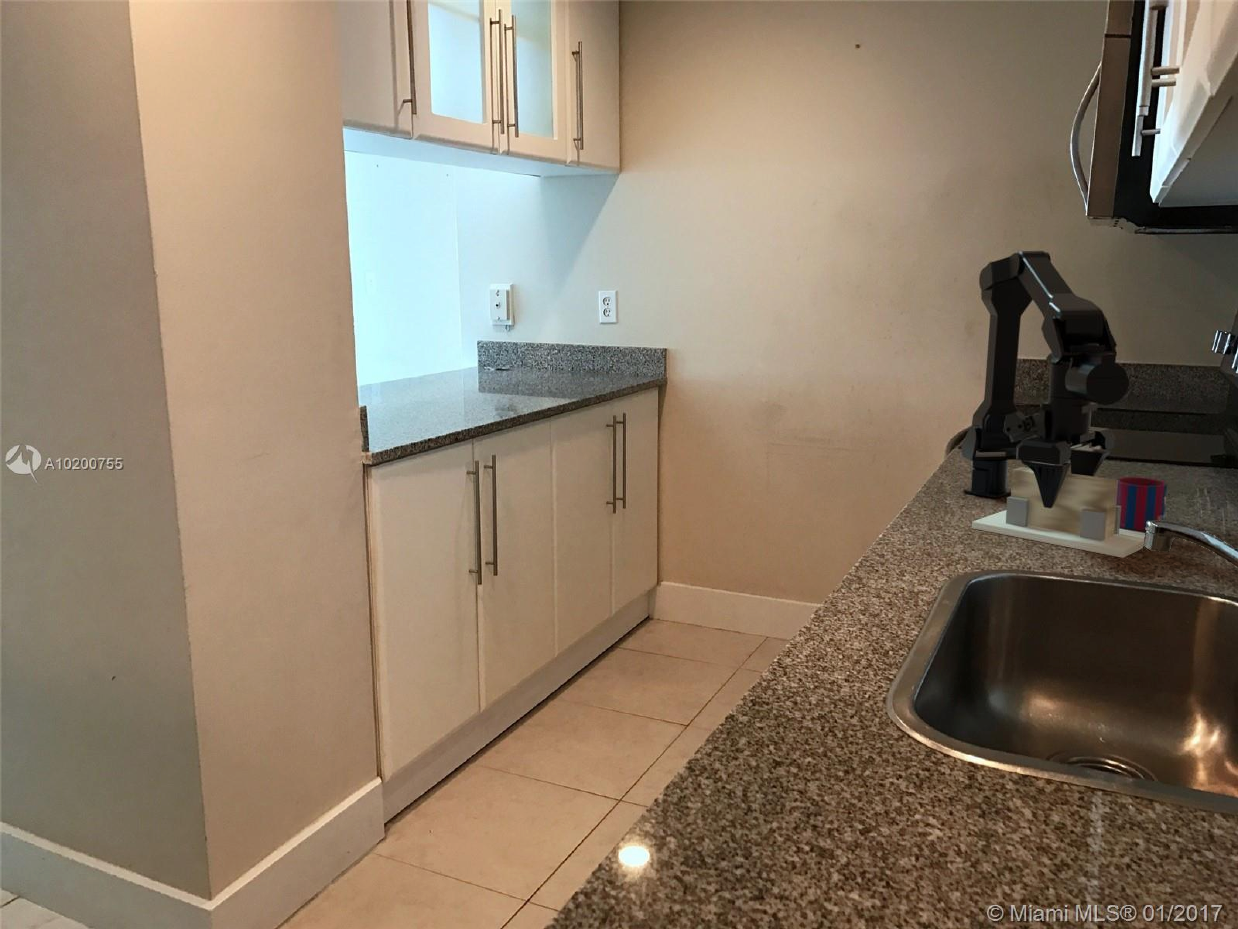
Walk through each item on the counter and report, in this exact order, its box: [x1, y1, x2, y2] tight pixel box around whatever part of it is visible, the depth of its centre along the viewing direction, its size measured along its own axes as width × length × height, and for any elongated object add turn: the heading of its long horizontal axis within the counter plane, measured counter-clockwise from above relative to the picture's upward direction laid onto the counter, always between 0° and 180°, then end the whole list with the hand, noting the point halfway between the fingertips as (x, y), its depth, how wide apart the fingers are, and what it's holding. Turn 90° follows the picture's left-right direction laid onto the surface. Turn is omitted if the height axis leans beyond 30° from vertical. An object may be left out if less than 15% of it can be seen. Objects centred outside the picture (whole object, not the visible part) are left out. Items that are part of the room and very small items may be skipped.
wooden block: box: [1010, 466, 1118, 539], centre depth 140 cm, size 14×4×8 cm, turn 41°
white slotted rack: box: [971, 496, 1146, 559], centre depth 141 cm, size 11×22×5 cm, turn 41°
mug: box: [1116, 476, 1168, 532], centre depth 146 cm, size 7×10×7 cm
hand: (1062, 502), depth 140 cm, fingers open, 9 cm apart
